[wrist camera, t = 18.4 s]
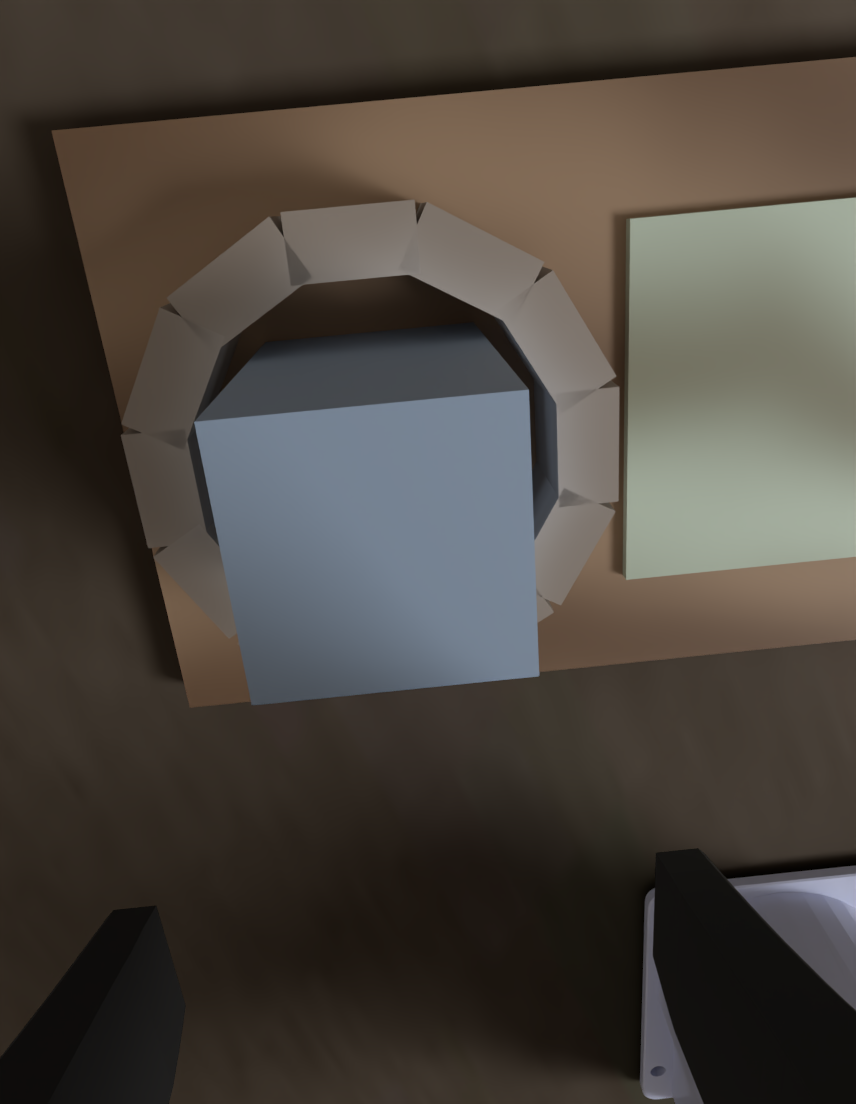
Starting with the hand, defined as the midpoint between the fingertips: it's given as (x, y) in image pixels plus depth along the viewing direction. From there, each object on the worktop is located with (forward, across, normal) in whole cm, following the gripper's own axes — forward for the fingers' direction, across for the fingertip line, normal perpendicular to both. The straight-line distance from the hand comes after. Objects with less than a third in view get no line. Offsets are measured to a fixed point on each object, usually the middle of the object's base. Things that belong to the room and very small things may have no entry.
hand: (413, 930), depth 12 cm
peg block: (+9, 0, -5) cm, 10 cm away
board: (+10, -4, -5) cm, 12 cm away
